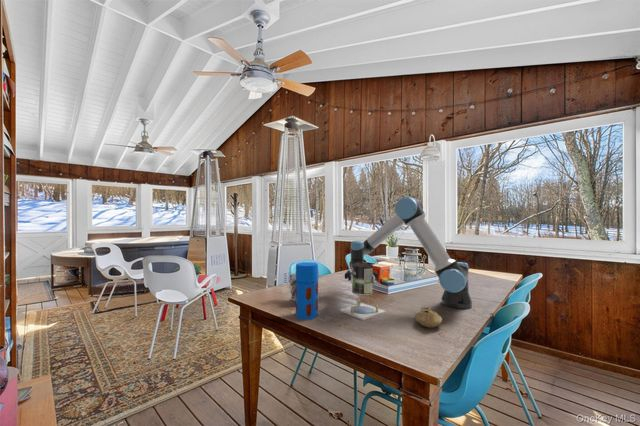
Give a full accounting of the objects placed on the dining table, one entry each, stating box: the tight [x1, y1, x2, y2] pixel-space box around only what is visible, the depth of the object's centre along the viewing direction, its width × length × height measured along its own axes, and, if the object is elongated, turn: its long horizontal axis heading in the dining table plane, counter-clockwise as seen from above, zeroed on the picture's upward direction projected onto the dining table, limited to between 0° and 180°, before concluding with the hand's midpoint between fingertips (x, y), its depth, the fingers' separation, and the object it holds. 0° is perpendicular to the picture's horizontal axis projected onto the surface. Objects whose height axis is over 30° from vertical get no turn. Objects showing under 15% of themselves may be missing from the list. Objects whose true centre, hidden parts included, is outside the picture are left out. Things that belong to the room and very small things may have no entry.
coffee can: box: [351, 262, 374, 297], centre depth 147 cm, size 10×10×14 cm
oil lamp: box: [415, 306, 443, 328], centre depth 131 cm, size 11×15×8 cm
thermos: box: [295, 261, 319, 320], centre depth 142 cm, size 11×11×25 cm
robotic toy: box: [287, 273, 296, 301], centre depth 164 cm, size 13×17×15 cm
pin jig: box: [339, 299, 386, 321], centre depth 147 cm, size 16×16×4 cm
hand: (363, 280), depth 143 cm, fingers closed on coffee can, 10 cm apart
